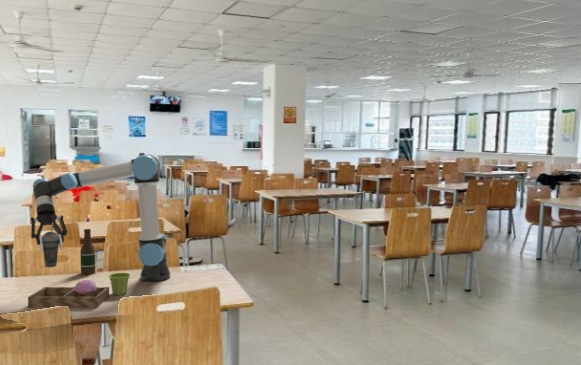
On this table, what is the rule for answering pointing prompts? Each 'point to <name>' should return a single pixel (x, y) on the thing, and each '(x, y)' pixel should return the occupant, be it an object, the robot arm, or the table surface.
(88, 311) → the table surface
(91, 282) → the cupcake
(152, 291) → the table surface
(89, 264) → the beer bottle
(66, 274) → the table surface
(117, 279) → the plant pot
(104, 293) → the tray
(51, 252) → the beverage cup
